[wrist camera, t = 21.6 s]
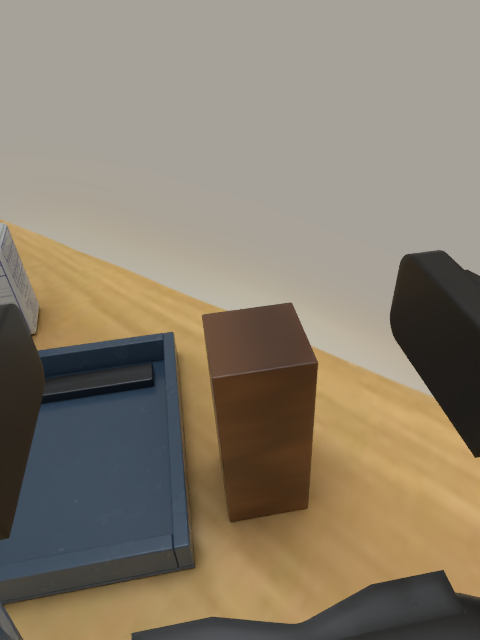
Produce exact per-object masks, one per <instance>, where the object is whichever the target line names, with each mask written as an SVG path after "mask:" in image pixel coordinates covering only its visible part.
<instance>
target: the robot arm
mask: <svg viewBox="0 0 480 640" xmlns="http://www.w3.org/2000/svg"><path fill="white" fill-rule="evenodd" d="M390 324H391V329H392V333H393V336H394V338H395V340H396V341H397V343H398V344H399V346H400V347H401V349H402V350H403V352H404V353H405V354H406V356H407V358H408V359H409V361H410V362H411V364H412V365H413V366H414V368H415V369H416V371H417V372H418V374H419V375H420V377H421V378H422V380H423V381H424V383H425V384H426V386H427V387H428V389H429V390H430V392H431V393H432V395H433V396H434V398H435V399H436V401H437V402H438V403H439V405H440V406H441V408H442V409H443V411H444V412H445V414H446V415H447V417H448V418H449V420H450V421H451V423H452V424H453V426H454V427H455V429H456V430H457V432H458V433H459V435H460V436H461V437H462V439H463V440H464V442H465V443H466V445H467V446H468V448H469V449H470V451H471V452H472V454H473V455H474V457H475V458H477V457H480V276H478V275H477V274H475V273H472V272H471V271H469V270H464V269H463V268H462V267H461V266H459V265H458V264H457V263H456V262H455V261H454V260H453V259H452V258H451V257H450V256H449V255H448V254H447V253H445V252H444V251H441V250H437V251H429V252H422V253H414V254H407V255H405V256H404V257H403V258H402V260H401V262H400V266H399V271H398V276H397V281H396V286H395V291H394V296H393V301H392V306H391V312H390ZM44 388H45V375H44V368H43V364H42V361H41V358H40V356H39V353H38V351H37V349H36V346H35V344H34V342H33V339H32V337H31V334H30V332H29V330H28V327H27V325H26V323H25V320H24V318H23V315H22V313H21V311H20V309H19V308H18V306H17V305H15V304H13V303H11V304H3V305H0V540H3V539H9V538H10V533H11V529H12V525H13V521H14V516H15V512H16V508H17V504H18V499H19V495H20V491H21V487H22V482H23V478H24V474H25V470H26V465H27V461H28V457H29V453H30V448H31V444H32V440H33V436H34V431H35V427H36V423H37V419H38V414H39V410H40V406H41V402H42V397H43V393H44ZM0 640H23V639H22V637H21V635H20V633H19V632H18V630H17V628H16V627H15V625H14V623H13V622H12V620H11V618H10V616H9V615H8V613H7V611H6V610H5V608H4V606H3V605H2V603H1V601H0ZM132 640H480V597H475V596H471V595H466V594H462V593H455V592H454V590H453V588H452V586H451V584H450V582H449V580H448V578H447V576H446V574H445V572H444V570H441V571H436V572H431V573H426V574H421V575H416V576H411V577H406V578H401V579H396V580H391V581H387V582H382V583H377V584H372V585H369V586H368V587H366V588H364V589H362V590H360V591H359V592H357V593H355V594H353V595H352V596H350V597H348V598H346V599H344V600H343V601H341V602H339V603H337V604H335V605H334V606H332V607H330V608H328V609H326V610H325V611H323V612H321V613H319V614H318V615H316V616H314V617H312V618H310V619H309V620H307V621H304V622H302V623H298V624H284V623H273V622H262V621H252V620H241V619H230V618H219V617H209V618H204V619H199V620H195V621H190V622H185V623H180V624H175V625H170V626H165V627H160V628H155V629H150V630H145V631H140V632H135V633H132Z"/></svg>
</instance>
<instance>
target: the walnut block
mask: <svg viewBox="0 0 480 640" xmlns="http://www.w3.org/2000/svg"><path fill="white" fill-rule="evenodd" d="M202 320H203V328H204V336H205V344H206V351H207V359H208V367H209V375H210V383H211V390H212V398H213V406H214V414H215V422H216V429H217V437H218V445H219V453H220V460H221V467H222V473H223V480H224V487H225V493H226V500H227V507H228V513H229V520H230V522H232V521H237V520H243V519H248V518H254V517H260V516H265V515H271V514H276V513H282V512H287V511H293V510H298V509H304V508H308V498H309V484H310V469H311V455H312V441H313V427H314V413H315V398H316V384H317V370H318V361H317V359H316V357H315V355H314V352H313V350H312V348H311V345H310V343H309V341H308V339H307V336H306V334H305V332H304V330H303V327H302V325H301V323H300V320H299V318H298V316H297V313H296V311H295V309H294V307H293V304H292V303H284V304H277V305H270V306H262V307H255V308H248V309H240V310H233V311H226V312H218V313H211V314H204V315H202Z"/></svg>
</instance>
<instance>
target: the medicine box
mask: <svg viewBox="0 0 480 640" xmlns="http://www.w3.org/2000/svg"><path fill="white" fill-rule="evenodd" d="M11 303H13V304H15V305H17V306H18V308H19V309H20V311H21V313H22V315H23V318H24V320H25V323H26V325H27V327H28V330H29V332H30V334H35V333H36V329H37V320H38V312H39V303H38V301H37V298H36V296H35V293H34V291H33V288H32V286H31V284H30V281H29V279H28V276H27V274H26V271H25V269H24V267H23V264H22V262H21V259H20V257H19V254H18V252H17V249H16V247H15V244H14V242H13V239H12V237H11V234H10V232H9V229H8V227H7V225H6V224H4V223H0V305H3V304H11Z"/></svg>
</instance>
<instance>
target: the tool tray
mask: <svg viewBox="0 0 480 640" xmlns="http://www.w3.org/2000/svg"><path fill="white" fill-rule="evenodd" d="M38 353H39V356H40V358H41V361H42V364H43V368H44V375H45V378H51V377H58V376H65V375H72V374H78V373H85V372H92V371H99V370H106V369H112V368H119V367H126V366H133V365H140V364H147V363H153V367H154V387H147V388H141V389H134V390H128V391H121V392H115V393H108V394H101V395H95V396H88V397H82V398H75V399H68V400H62V401H55V402H49V403H42V404H41V406H40V410H39V414H38V419H37V423H36V427H35V431H34V436H33V440H32V444H31V448H30V453H29V457H28V461H27V465H26V470H25V474H24V478H23V482H22V487H21V491H20V495H19V499H18V504H17V508H16V512H15V516H14V521H13V525H12V529H11V533H10V538H9V539H3V540H0V601H1V603H2V605H3V604H8V603H14V602H19V601H24V600H29V599H34V598H40V597H45V596H50V595H55V594H60V593H66V592H71V591H76V590H81V589H87V588H92V587H97V586H102V585H107V584H113V583H118V582H123V581H128V580H133V579H139V578H144V577H149V576H154V575H159V574H165V573H170V572H175V571H180V570H185V569H191V568H195V558H194V546H193V534H192V522H191V511H190V499H189V487H188V475H187V463H186V451H185V439H184V427H183V415H182V403H181V391H180V379H179V367H178V355H177V349H176V343H175V338H174V333H173V332H168V333H160V334H153V335H146V336H138V337H131V338H124V339H117V340H110V341H103V342H96V343H89V344H82V345H75V346H67V347H60V348H53V349H46V350H39V351H38Z"/></svg>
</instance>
